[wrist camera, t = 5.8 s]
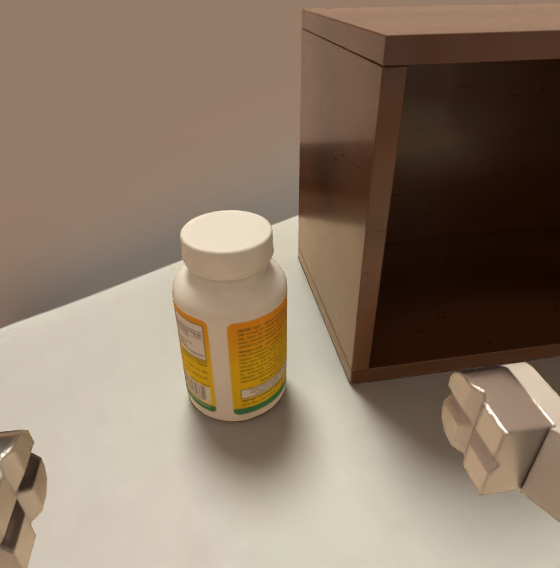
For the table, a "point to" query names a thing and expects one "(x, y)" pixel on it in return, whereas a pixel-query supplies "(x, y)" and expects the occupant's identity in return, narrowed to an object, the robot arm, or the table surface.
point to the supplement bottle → (231, 315)
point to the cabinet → (432, 184)
